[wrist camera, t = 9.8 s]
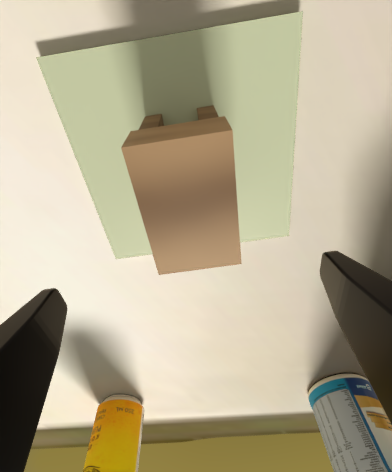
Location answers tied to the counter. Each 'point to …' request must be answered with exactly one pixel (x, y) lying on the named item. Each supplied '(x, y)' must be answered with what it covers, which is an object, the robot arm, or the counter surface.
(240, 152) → the sage board
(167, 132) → the walnut stool
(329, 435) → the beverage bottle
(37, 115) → the counter surface
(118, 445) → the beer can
